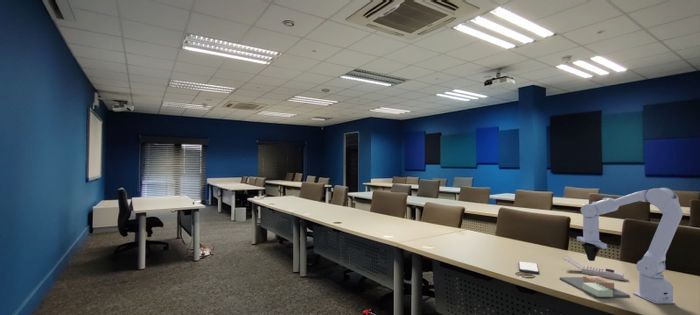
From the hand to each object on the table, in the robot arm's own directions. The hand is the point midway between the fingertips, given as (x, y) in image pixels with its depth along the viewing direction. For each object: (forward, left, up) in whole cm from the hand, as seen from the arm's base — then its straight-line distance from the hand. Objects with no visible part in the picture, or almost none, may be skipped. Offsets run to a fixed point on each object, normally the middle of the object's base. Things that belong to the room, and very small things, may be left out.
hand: (591, 260), depth 143 cm
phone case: (+18, +18, -10) cm, 28 cm away
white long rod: (+9, -9, -10) cm, 17 cm away
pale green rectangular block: (-15, +10, -9) cm, 20 cm away
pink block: (-7, +3, -9) cm, 12 cm away
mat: (-7, +6, -9) cm, 13 cm away
